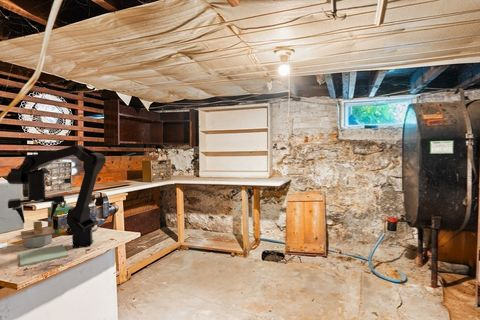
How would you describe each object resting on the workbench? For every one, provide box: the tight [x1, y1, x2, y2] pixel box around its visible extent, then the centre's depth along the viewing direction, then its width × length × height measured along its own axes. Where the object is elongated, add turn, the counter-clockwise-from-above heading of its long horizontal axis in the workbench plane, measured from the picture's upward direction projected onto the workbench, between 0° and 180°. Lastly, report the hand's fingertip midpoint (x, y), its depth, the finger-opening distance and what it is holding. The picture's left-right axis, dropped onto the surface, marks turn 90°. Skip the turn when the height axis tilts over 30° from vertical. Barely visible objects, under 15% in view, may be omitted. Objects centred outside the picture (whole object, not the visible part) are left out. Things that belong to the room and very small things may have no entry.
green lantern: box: [47, 199, 74, 235], centre depth 133 cm, size 9×9×15 cm
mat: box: [19, 243, 69, 268], centre depth 103 cm, size 14×14×1 cm
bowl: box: [23, 235, 53, 249], centre depth 115 cm, size 9×9×4 cm
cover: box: [20, 220, 56, 241], centre depth 114 cm, size 11×11×5 cm
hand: (37, 221), depth 114 cm, fingers open, 9 cm apart
